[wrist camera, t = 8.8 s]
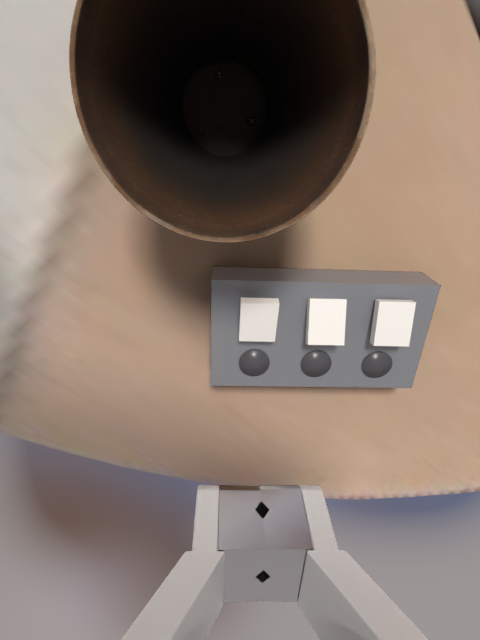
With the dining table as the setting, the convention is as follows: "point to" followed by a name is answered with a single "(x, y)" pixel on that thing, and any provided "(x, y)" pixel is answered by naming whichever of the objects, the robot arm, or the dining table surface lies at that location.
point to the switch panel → (290, 341)
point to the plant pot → (223, 106)
